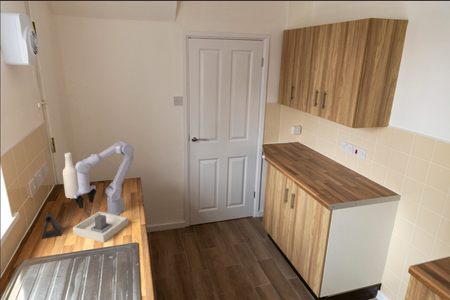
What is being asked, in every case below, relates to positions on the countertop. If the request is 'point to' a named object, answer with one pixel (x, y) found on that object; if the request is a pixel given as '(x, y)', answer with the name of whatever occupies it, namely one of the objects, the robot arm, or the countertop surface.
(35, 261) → the countertop surface
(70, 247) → the countertop surface
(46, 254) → the countertop surface
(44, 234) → the phone stand
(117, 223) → the box
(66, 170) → the alcohol
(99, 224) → the grey rectangular block
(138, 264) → the countertop surface
